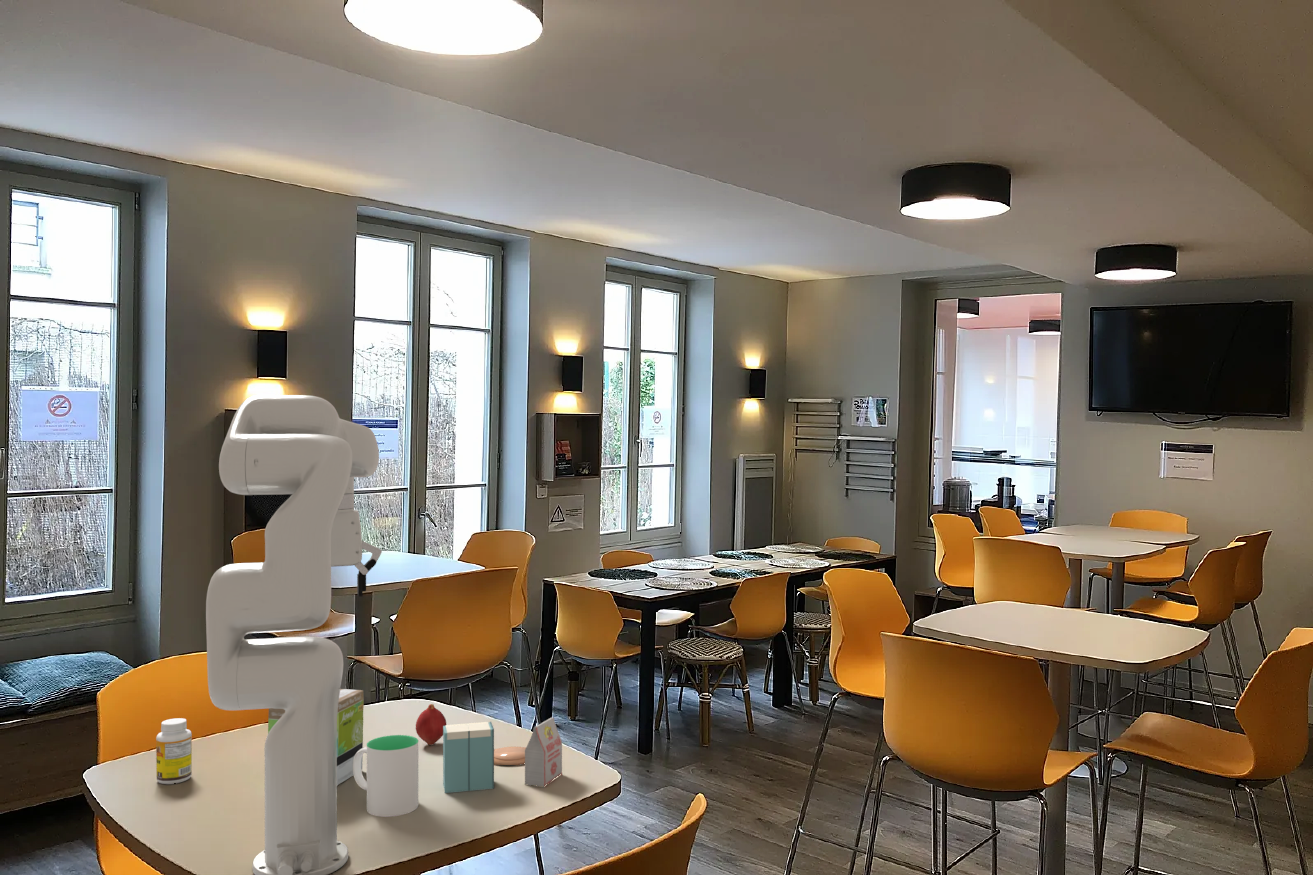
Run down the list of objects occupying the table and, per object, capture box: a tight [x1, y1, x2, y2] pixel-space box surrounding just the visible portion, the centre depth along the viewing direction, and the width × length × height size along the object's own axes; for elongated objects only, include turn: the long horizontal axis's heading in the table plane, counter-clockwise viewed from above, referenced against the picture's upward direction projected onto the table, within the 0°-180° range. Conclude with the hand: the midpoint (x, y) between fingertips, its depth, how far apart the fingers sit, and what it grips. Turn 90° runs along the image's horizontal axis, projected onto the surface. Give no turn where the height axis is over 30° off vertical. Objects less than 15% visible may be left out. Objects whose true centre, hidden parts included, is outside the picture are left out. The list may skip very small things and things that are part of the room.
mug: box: [353, 734, 419, 817], centre depth 161 cm, size 12×8×10 cm, turn 67°
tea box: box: [267, 688, 365, 786], centre depth 172 cm, size 15×10×15 cm, turn 168°
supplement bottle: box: [155, 717, 193, 785], centre depth 173 cm, size 6×6×10 cm
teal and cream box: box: [442, 721, 495, 794], centre depth 170 cm, size 4×8×10 cm, turn 105°
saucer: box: [494, 746, 527, 766], centre depth 184 cm, size 9×9×1 cm
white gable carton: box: [524, 716, 563, 788], centre depth 173 cm, size 4×7×10 cm, turn 159°
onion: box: [415, 703, 447, 746], centre depth 192 cm, size 6×6×8 cm
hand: (332, 597), depth 182 cm, fingers open, 9 cm apart
